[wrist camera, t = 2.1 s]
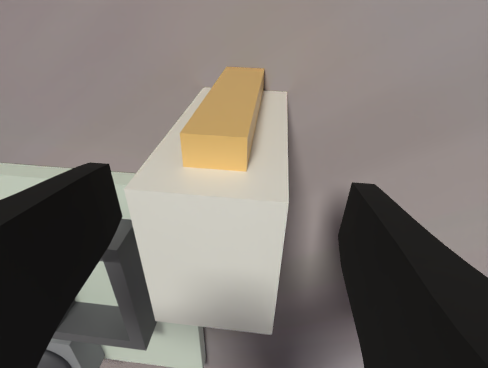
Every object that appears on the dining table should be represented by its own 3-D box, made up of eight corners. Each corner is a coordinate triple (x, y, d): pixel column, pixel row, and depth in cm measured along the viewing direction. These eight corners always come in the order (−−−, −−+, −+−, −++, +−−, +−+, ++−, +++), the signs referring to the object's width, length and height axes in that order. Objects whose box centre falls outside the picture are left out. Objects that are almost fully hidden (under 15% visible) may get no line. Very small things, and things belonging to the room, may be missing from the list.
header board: (205, 357, 23) (194, 409, 20) (43, 336, 24) (11, 383, 21) (189, 177, 14) (165, 226, 11) (-66, 157, 15) (-146, 197, 12)
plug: (277, 188, 14) (272, 335, 8) (208, 182, 14) (155, 321, 8) (289, 69, 11) (293, 165, 5) (202, 65, 11) (115, 152, 6)
